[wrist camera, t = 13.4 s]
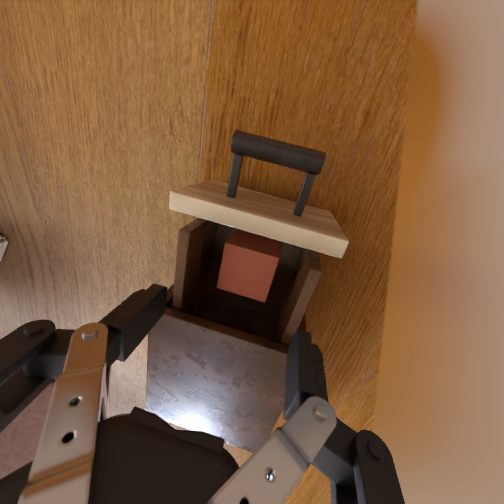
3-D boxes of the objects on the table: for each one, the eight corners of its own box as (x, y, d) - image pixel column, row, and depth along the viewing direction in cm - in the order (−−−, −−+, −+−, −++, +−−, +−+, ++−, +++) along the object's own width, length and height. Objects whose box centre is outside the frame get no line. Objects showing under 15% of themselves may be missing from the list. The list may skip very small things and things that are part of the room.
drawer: (220, 128, 19) (174, 111, 12) (350, 161, 18) (386, 165, 11) (196, 292, 26) (159, 341, 19) (287, 320, 26) (283, 382, 19)
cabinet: (198, 257, 25) (148, 309, 17) (303, 289, 25) (308, 361, 16) (186, 343, 32) (145, 414, 23) (269, 371, 31) (259, 455, 22)
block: (238, 225, 21) (224, 242, 17) (282, 238, 21) (279, 258, 17) (230, 265, 23) (216, 287, 19) (270, 277, 22) (265, 303, 18)
